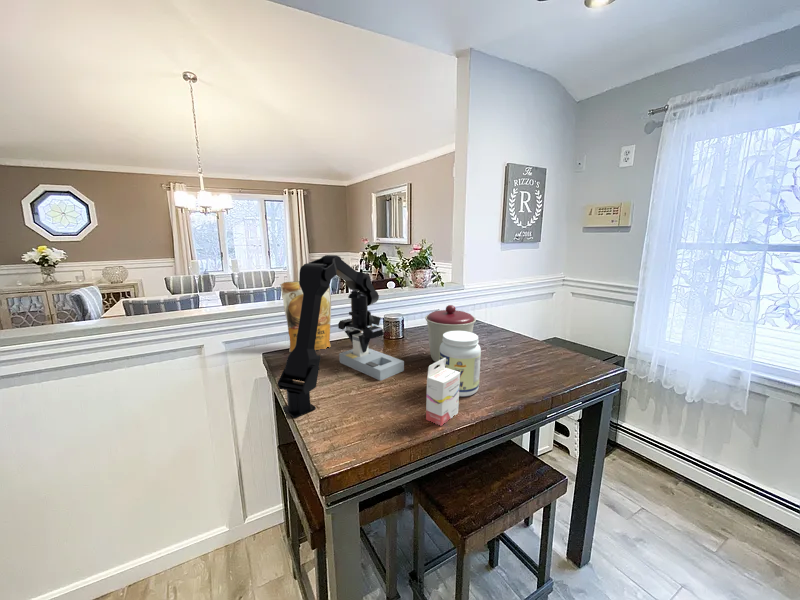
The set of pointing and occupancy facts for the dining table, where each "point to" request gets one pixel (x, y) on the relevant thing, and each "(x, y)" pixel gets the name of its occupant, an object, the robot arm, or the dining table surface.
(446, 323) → the canister
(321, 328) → the pancake mix bag
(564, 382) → the dining table surface
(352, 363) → the socket block
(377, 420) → the dining table surface
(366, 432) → the dining table surface
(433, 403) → the ink cartridge box
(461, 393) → the supplement tub
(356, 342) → the plug
